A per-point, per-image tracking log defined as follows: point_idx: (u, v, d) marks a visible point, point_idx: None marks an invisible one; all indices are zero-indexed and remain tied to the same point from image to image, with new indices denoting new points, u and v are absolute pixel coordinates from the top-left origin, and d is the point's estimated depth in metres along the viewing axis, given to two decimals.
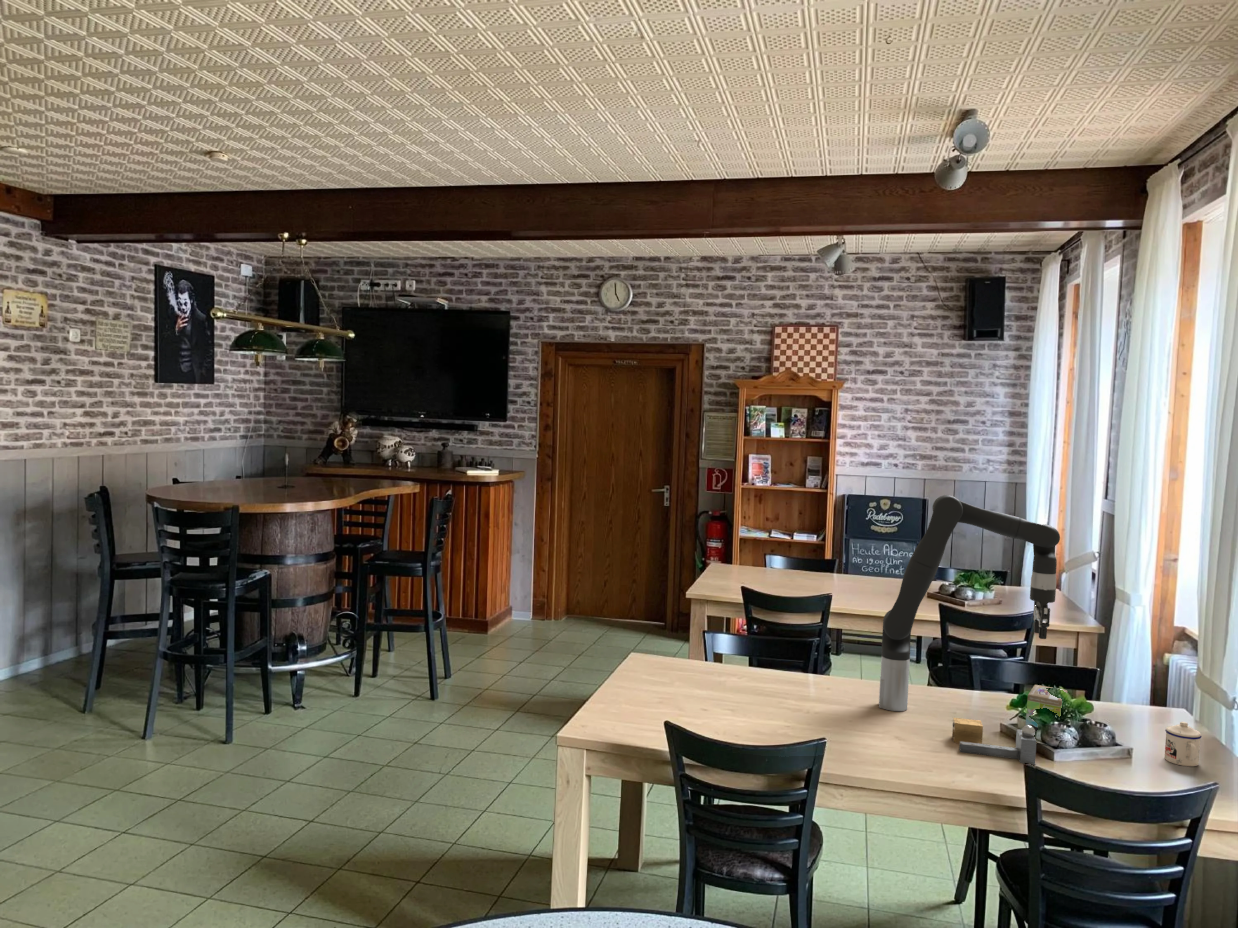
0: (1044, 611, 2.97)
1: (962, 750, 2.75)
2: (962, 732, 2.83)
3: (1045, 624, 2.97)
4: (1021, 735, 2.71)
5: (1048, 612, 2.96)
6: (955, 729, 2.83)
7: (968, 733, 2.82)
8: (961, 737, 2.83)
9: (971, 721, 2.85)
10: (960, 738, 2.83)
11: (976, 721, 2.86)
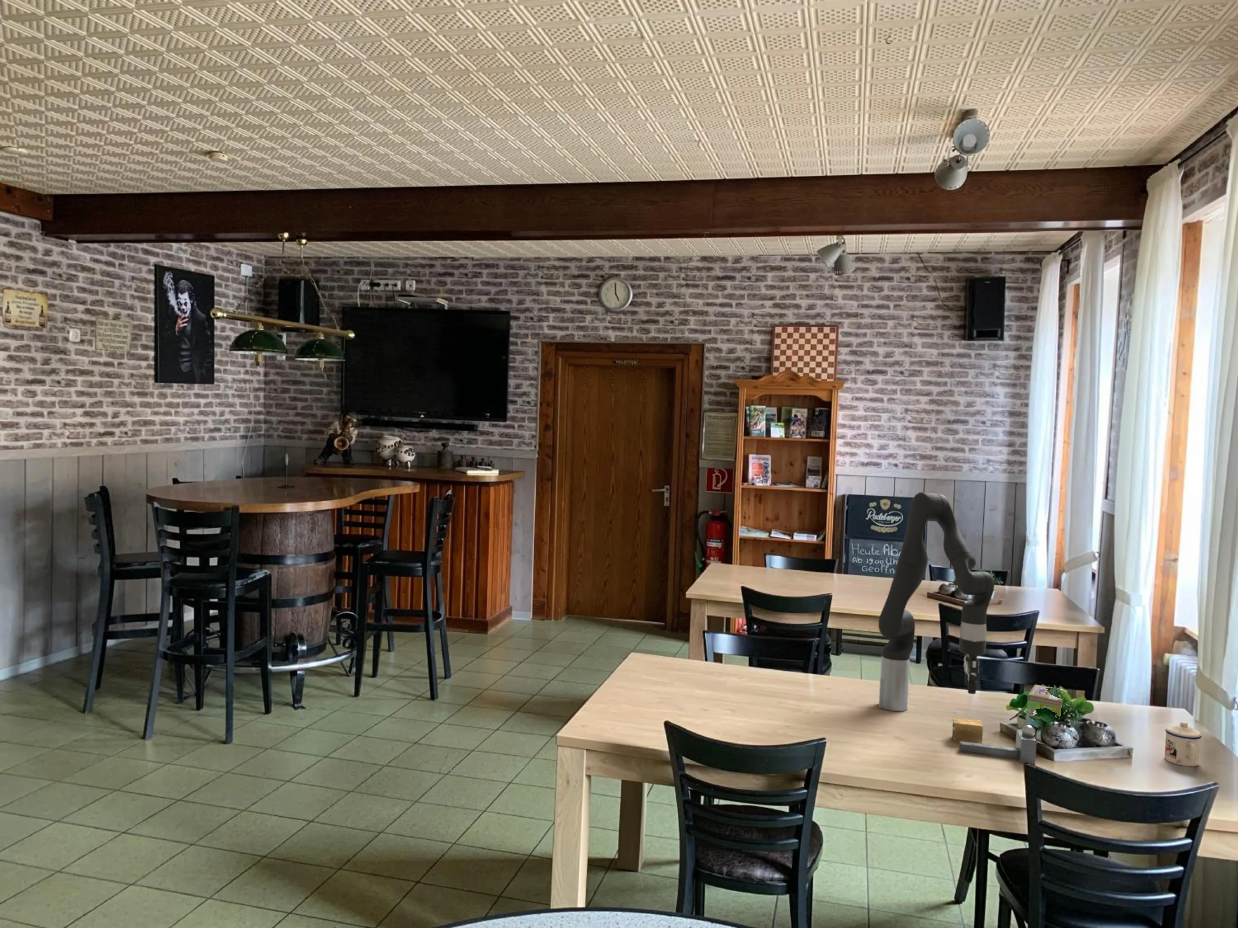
0: (972, 664, 2.78)
1: (962, 750, 2.75)
2: (962, 732, 2.83)
3: (974, 678, 2.78)
4: (1021, 735, 2.71)
5: (977, 666, 2.77)
6: (955, 729, 2.83)
7: (968, 733, 2.82)
8: (961, 737, 2.83)
9: (971, 721, 2.85)
10: (960, 738, 2.83)
11: (976, 721, 2.86)
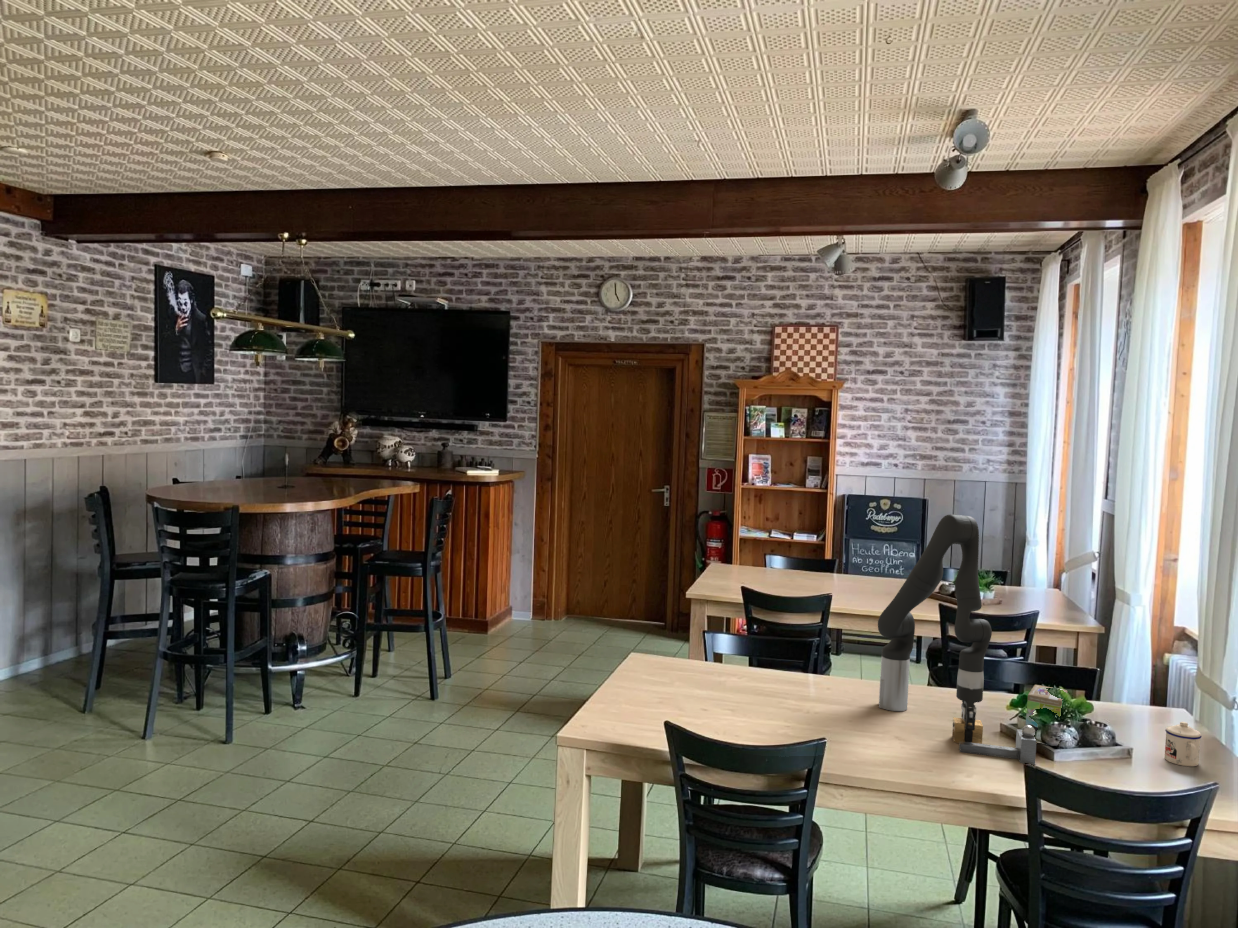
0: (969, 715, 2.78)
1: (962, 750, 2.75)
2: (962, 732, 2.83)
3: (970, 728, 2.79)
4: (1021, 735, 2.71)
5: (973, 716, 2.78)
6: (955, 729, 2.83)
7: None
8: (961, 737, 2.83)
9: None
10: (960, 738, 2.83)
11: (976, 721, 2.86)
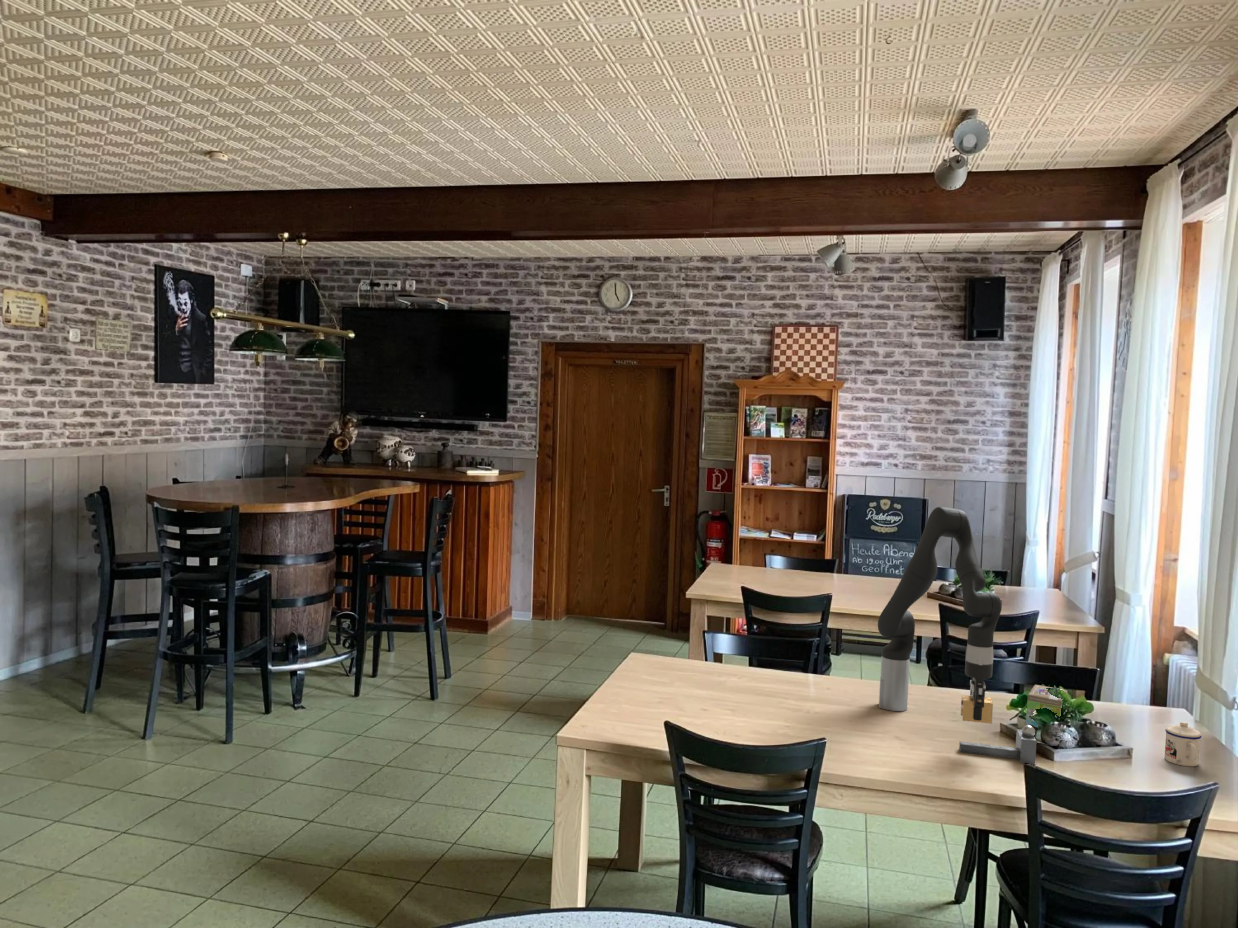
0: (979, 692, 2.68)
1: (962, 750, 2.75)
2: (971, 710, 2.73)
3: (979, 705, 2.69)
4: (1021, 735, 2.71)
5: (983, 693, 2.68)
6: (964, 707, 2.73)
7: None
8: (970, 715, 2.73)
9: None
10: (969, 716, 2.73)
11: (986, 698, 2.75)
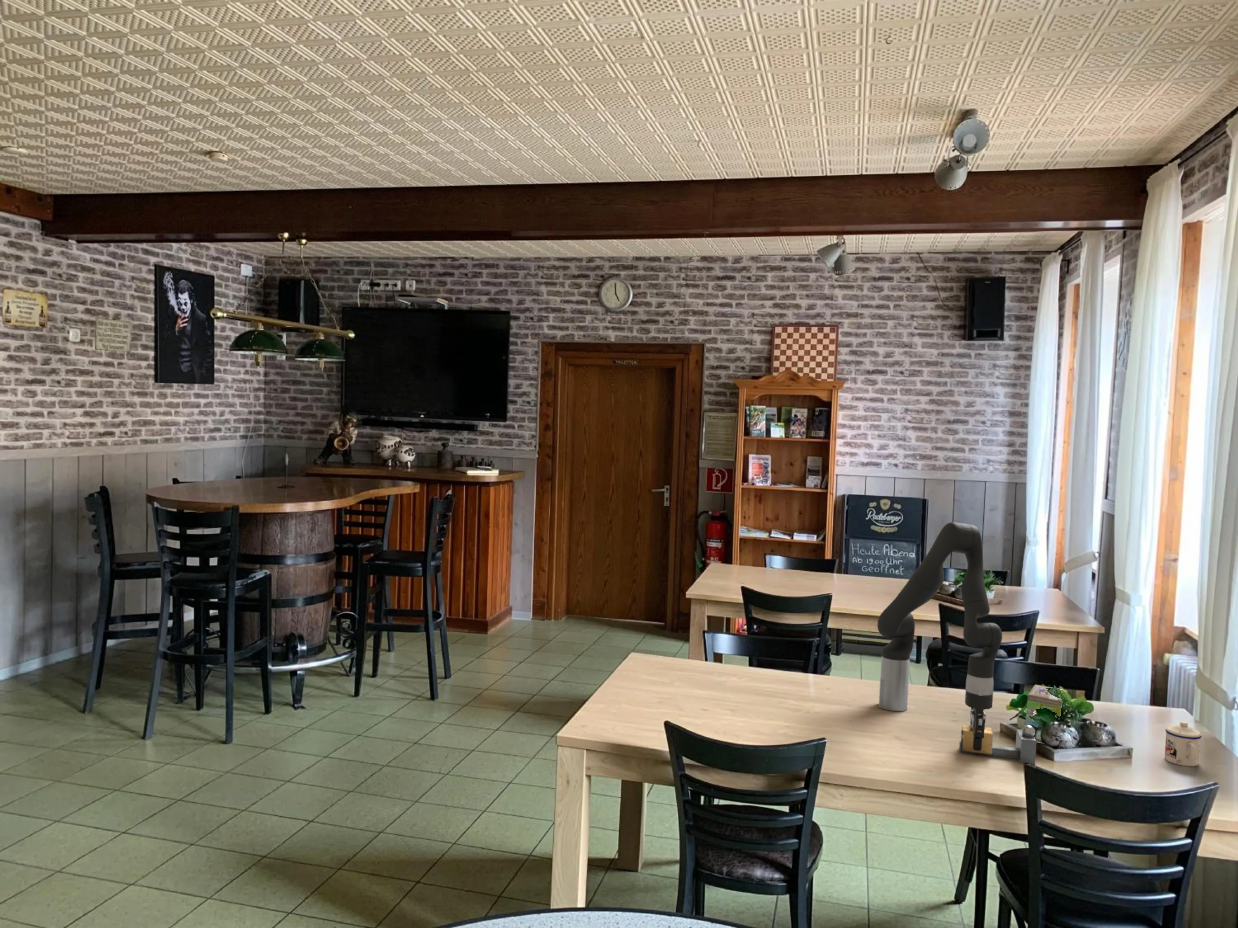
0: (978, 723, 2.68)
1: (962, 750, 2.75)
2: (971, 740, 2.73)
3: (979, 736, 2.69)
4: (1021, 735, 2.71)
5: (983, 724, 2.68)
6: (964, 737, 2.73)
7: None
8: (970, 745, 2.73)
9: None
10: (969, 746, 2.73)
11: (986, 728, 2.76)
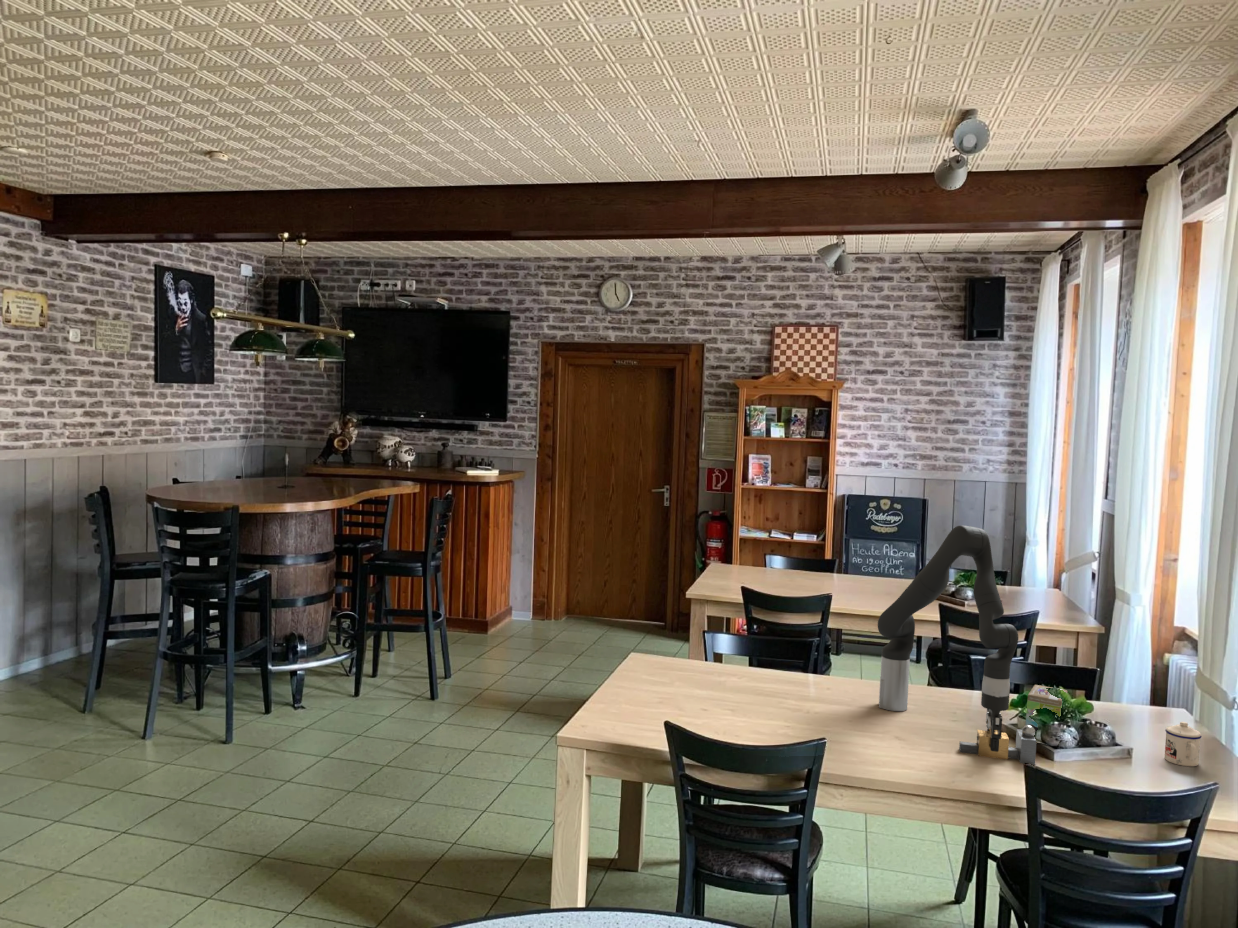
0: (995, 721, 2.67)
1: (962, 750, 2.75)
2: (987, 745, 2.72)
3: (997, 736, 2.67)
4: (1021, 735, 2.71)
5: (1000, 723, 2.67)
6: (980, 742, 2.72)
7: None
8: (986, 750, 2.72)
9: (996, 733, 2.74)
10: (985, 751, 2.72)
11: (1001, 734, 2.75)
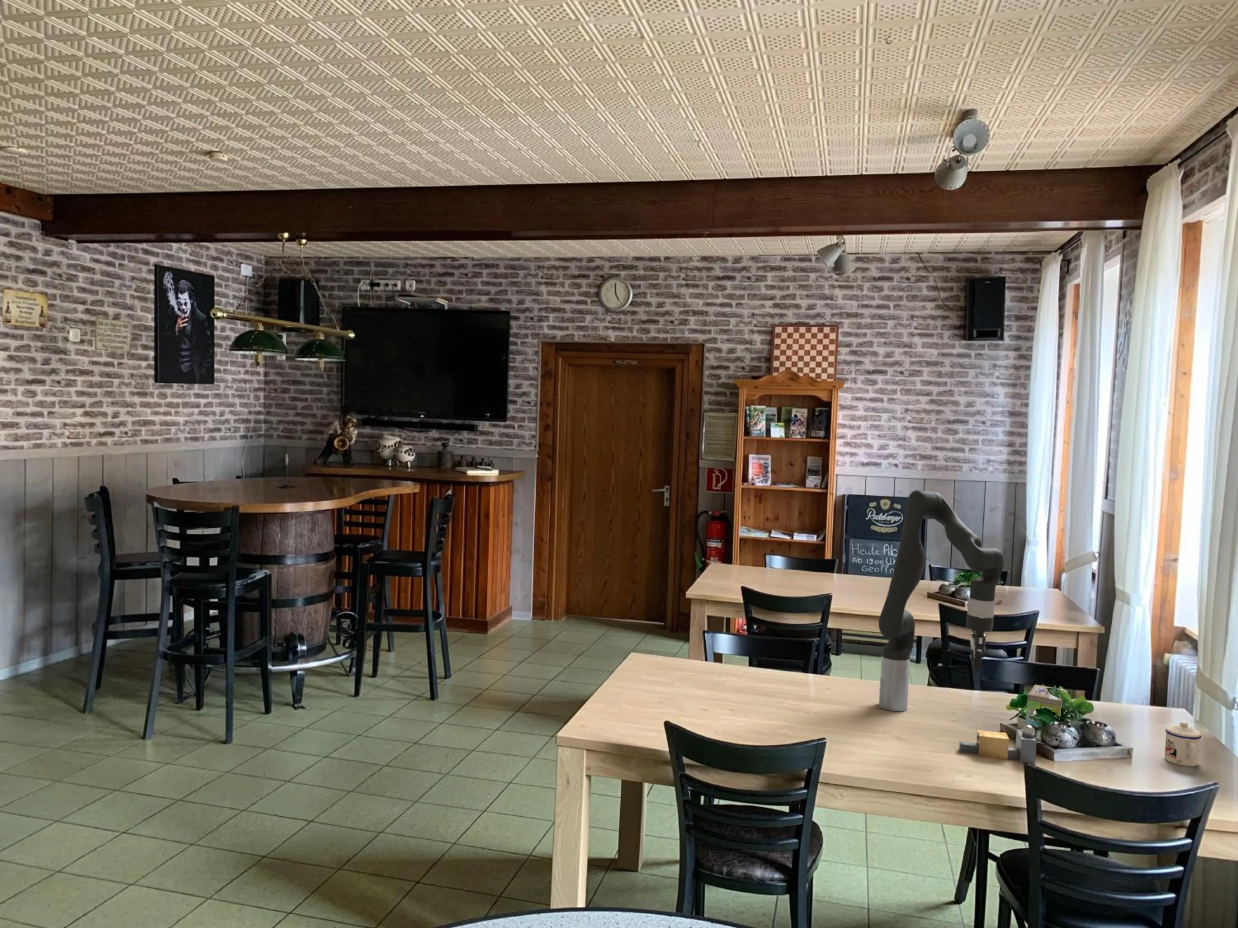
0: (979, 641, 2.76)
1: (962, 750, 2.75)
2: (987, 745, 2.72)
3: (979, 655, 2.76)
4: (1021, 735, 2.71)
5: (983, 642, 2.76)
6: (980, 742, 2.72)
7: (993, 746, 2.71)
8: (986, 750, 2.72)
9: (996, 733, 2.74)
10: (985, 751, 2.72)
11: (1001, 734, 2.75)
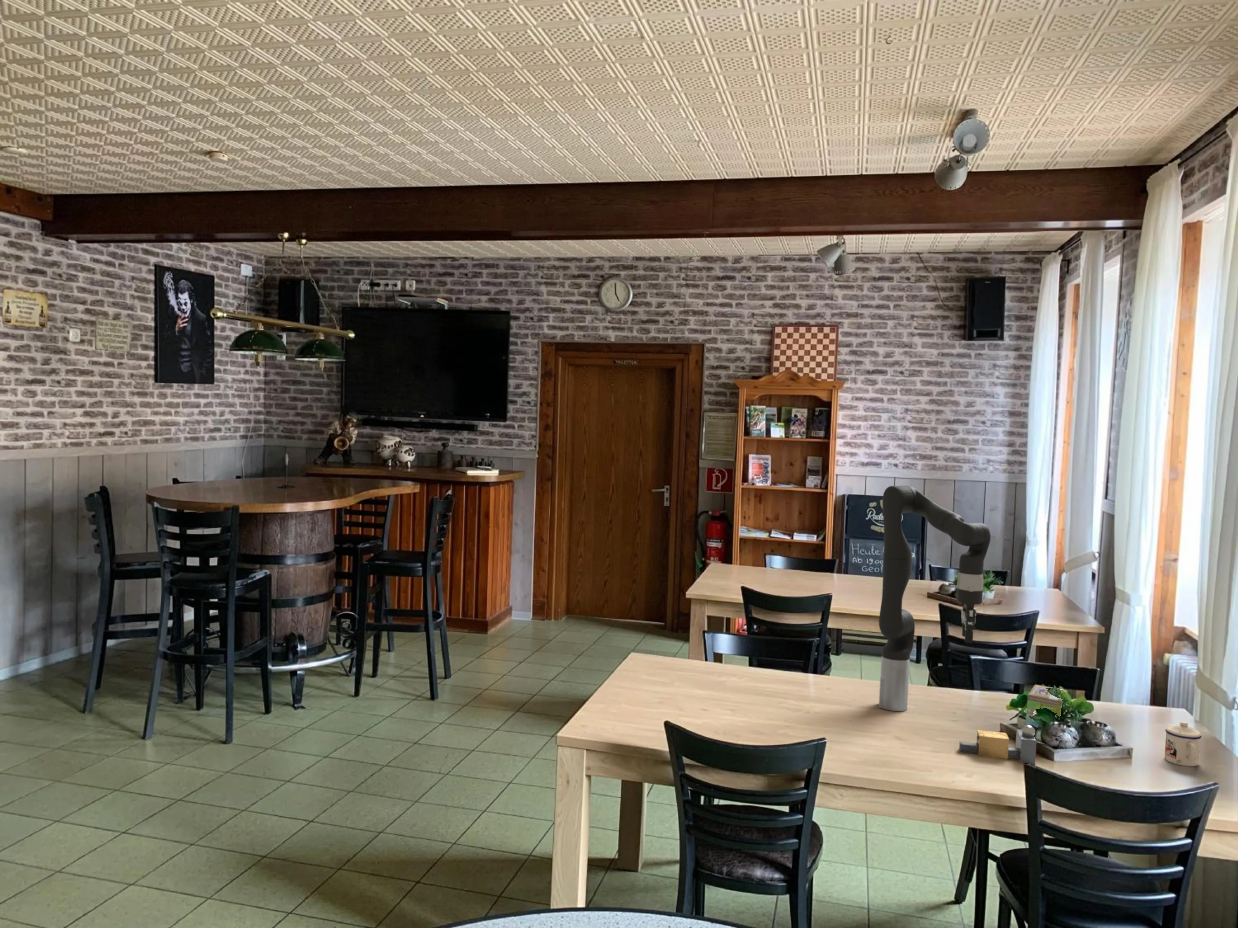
0: (969, 613, 2.82)
1: (962, 750, 2.75)
2: (987, 745, 2.72)
3: (970, 627, 2.82)
4: (1021, 735, 2.71)
5: (973, 615, 2.82)
6: (980, 742, 2.72)
7: (993, 746, 2.71)
8: (986, 750, 2.72)
9: (996, 733, 2.74)
10: (985, 751, 2.72)
11: (1001, 734, 2.75)
